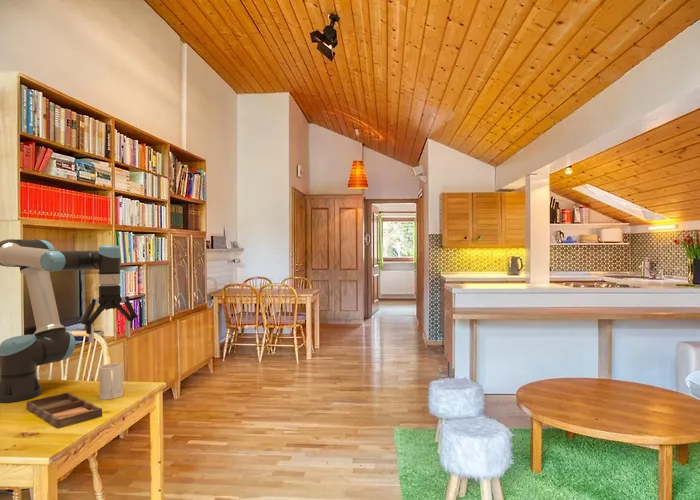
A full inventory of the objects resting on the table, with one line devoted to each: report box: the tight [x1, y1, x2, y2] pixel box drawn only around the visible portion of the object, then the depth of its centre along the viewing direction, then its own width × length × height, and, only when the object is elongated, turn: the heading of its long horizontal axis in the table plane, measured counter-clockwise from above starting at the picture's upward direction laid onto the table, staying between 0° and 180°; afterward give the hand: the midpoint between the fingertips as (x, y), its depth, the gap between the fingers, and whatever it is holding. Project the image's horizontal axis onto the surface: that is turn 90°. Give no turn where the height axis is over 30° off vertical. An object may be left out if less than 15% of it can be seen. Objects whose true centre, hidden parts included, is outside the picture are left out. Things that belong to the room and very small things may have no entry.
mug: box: [98, 362, 124, 401], centre depth 179 cm, size 12×8×12 cm
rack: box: [26, 392, 103, 429], centre depth 162 cm, size 30×14×3 cm, turn 51°
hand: (110, 339), depth 178 cm, fingers open, 13 cm apart
